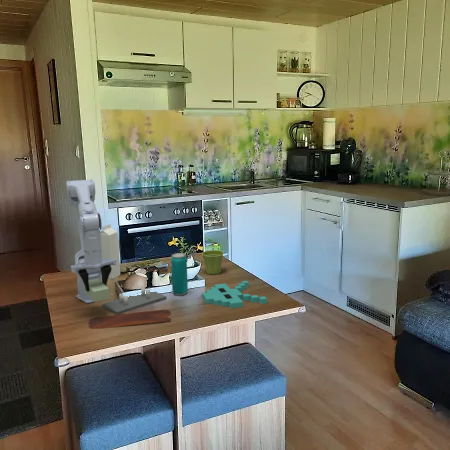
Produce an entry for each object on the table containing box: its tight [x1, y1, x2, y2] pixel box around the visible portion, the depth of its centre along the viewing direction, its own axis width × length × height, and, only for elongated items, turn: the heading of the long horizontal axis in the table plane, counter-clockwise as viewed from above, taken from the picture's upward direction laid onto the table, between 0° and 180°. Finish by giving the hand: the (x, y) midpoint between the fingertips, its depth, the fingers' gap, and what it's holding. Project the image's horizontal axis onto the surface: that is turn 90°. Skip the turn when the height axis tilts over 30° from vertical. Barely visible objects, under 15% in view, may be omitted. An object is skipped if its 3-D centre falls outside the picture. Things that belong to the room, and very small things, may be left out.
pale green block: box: [84, 279, 111, 303], centre depth 151 cm, size 12×5×4 cm, turn 32°
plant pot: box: [201, 249, 225, 275], centre depth 193 cm, size 9×9×9 cm
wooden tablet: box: [87, 309, 172, 330], centre depth 148 cm, size 27×10×2 cm, turn 101°
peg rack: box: [102, 287, 167, 315], centre depth 161 cm, size 10×20×4 cm, turn 132°
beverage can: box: [170, 252, 189, 296], centre depth 168 cm, size 6×6×15 cm
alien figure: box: [201, 280, 268, 309], centre depth 165 cm, size 20×2×20 cm
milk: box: [100, 223, 121, 280], centre depth 189 cm, size 6×6×22 cm
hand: (96, 289), depth 152 cm, fingers closed on pale green block, 5 cm apart
